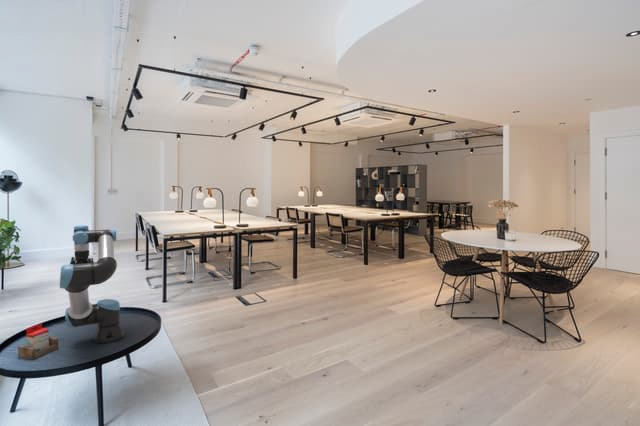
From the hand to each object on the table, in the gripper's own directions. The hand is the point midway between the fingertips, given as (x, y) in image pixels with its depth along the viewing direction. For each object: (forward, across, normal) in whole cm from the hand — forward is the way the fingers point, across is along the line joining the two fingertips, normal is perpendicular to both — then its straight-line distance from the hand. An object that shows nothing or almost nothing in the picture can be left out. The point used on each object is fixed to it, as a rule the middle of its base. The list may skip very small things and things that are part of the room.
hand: (82, 283), depth 212 cm
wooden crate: (+31, 0, +28) cm, 42 cm away
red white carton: (+31, +1, +29) cm, 42 cm away
